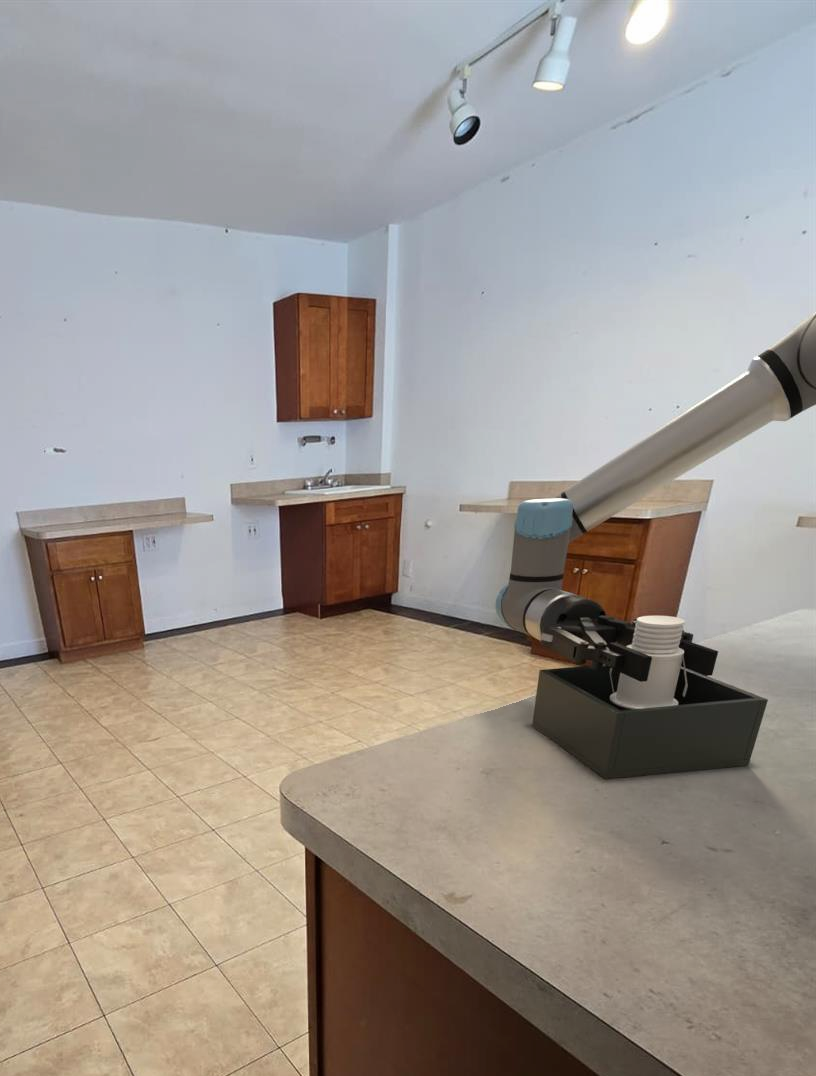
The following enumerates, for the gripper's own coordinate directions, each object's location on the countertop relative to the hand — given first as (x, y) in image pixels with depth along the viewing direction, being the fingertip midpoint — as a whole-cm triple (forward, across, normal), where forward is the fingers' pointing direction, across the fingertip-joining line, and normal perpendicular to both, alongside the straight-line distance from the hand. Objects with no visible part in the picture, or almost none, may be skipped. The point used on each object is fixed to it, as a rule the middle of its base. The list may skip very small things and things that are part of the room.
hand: (678, 666), depth 69 cm
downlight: (-5, 0, -6) cm, 8 cm away
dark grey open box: (-5, 0, -11) cm, 12 cm away
